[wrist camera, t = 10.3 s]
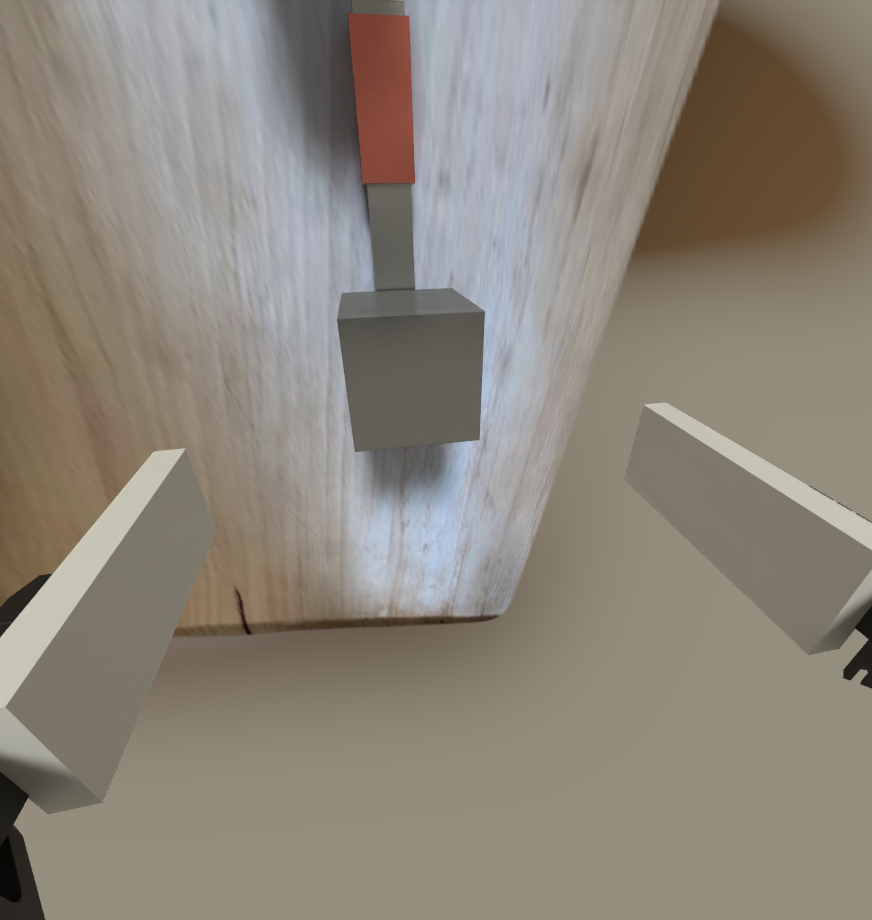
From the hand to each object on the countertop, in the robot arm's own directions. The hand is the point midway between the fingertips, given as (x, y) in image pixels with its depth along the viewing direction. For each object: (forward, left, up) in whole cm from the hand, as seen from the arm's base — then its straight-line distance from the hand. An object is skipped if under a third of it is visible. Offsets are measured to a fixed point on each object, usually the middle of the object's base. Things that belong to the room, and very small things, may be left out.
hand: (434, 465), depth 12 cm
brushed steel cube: (0, 0, -15) cm, 14 cm away
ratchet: (0, +6, -17) cm, 18 cm away
